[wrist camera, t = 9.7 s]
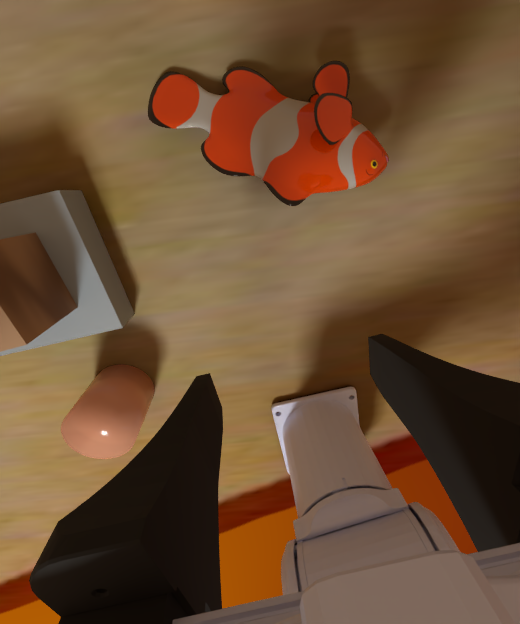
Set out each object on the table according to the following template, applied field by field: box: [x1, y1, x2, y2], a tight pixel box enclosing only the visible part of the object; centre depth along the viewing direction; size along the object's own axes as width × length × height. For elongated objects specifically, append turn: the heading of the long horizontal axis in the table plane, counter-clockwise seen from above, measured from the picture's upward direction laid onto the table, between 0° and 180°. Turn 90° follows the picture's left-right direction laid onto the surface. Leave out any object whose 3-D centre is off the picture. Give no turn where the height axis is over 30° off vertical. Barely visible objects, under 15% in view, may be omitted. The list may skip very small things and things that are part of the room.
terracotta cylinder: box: [61, 364, 154, 459], centre depth 22 cm, size 5×5×5 cm
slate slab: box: [0, 190, 135, 356], centre depth 19 cm, size 9×9×3 cm
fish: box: [148, 61, 389, 206], centre depth 15 cm, size 13×5×9 cm
